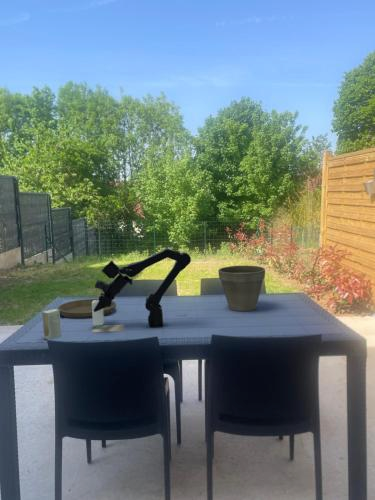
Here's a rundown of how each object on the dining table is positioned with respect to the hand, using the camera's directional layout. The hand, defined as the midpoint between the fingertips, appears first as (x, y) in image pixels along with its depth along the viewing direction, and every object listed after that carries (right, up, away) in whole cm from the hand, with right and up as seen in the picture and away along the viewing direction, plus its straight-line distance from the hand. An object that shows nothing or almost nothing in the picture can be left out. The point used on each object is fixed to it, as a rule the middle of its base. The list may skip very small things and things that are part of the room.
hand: (94, 309), depth 200 cm
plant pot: (+73, -4, +32) cm, 80 cm away
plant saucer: (-11, -7, +33) cm, 35 cm away
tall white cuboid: (+2, -6, +1) cm, 7 cm away
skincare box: (-16, -11, -11) cm, 22 cm away
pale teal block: (+2, -8, +1) cm, 9 cm away
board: (+7, -9, -1) cm, 11 cm away
